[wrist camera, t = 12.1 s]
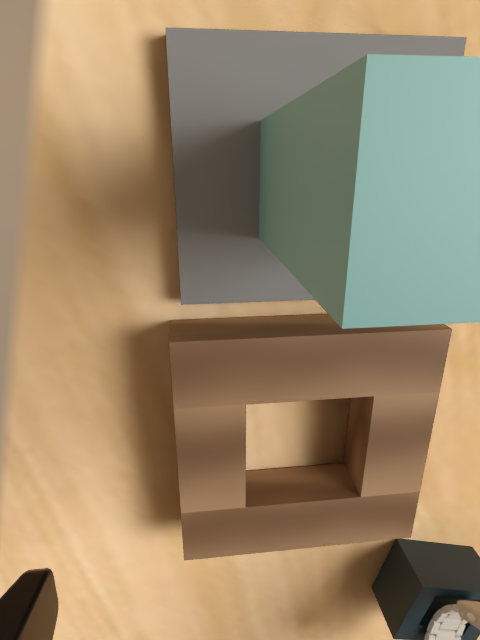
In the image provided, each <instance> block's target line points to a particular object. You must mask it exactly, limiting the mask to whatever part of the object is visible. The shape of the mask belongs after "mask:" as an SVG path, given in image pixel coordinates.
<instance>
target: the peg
mask: <svg viewBox="0 0 480 640" xmlns="http://www.w3.org/2000/svg"><path fill="white" fill-rule="evenodd" d="M259 239H260V240H261V241H262V242H263V243H264V244H265V245H266V246H267V247H268V248H269V250H270V251H271V252H272V253H273V254H274V255H275V256H276V257H277V258H278V259H279V260H280V262H281V263H282V264H283V265H284V266H285V267H286V268H287V269H288V270H289V271H290V272H291V274H292V275H293V276H294V277H295V278H296V279H297V280H298V281H299V282H300V283H301V284H302V286H303V287H304V288H305V289H306V290H307V291H308V292H309V293H310V294H311V295H312V296H313V298H314V299H315V300H316V301H317V302H318V303H319V304H320V305H321V306H322V307H323V309H324V310H325V311H326V312H327V313H328V314H329V315H330V316H331V317H332V318H333V319H334V321H335V322H336V323H337V324H338V325H339V326H340V327H341V328H342V329H347V328H368V327H390V326H411V325H432V324H453V323H474V322H480V57H465V56H423V55H382V54H367V55H365V56H364V57H362V58H360V59H359V60H357V61H355V62H354V63H352V64H351V65H349V66H347V67H346V68H344V69H343V70H341V71H339V72H338V73H336V74H334V75H333V76H331V77H330V78H328V79H326V80H325V81H323V82H322V83H320V84H318V85H317V86H315V87H313V88H312V89H310V90H309V91H307V92H305V93H304V94H302V95H301V96H299V97H297V98H296V99H294V100H292V101H291V102H289V103H288V104H286V105H284V106H283V107H281V108H280V109H278V110H276V111H275V112H273V113H271V114H270V115H268V116H267V117H265V118H263V119H262V120H261V125H260V204H259Z"/></svg>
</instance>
